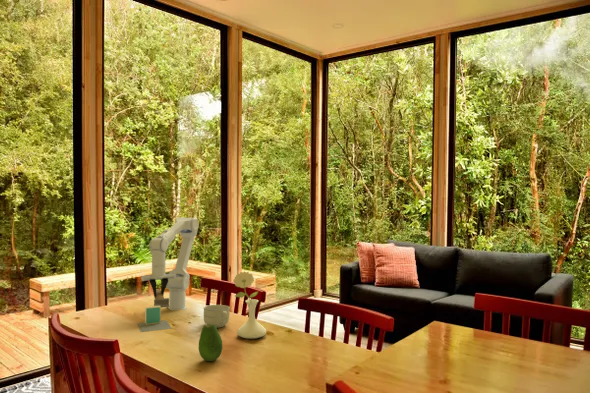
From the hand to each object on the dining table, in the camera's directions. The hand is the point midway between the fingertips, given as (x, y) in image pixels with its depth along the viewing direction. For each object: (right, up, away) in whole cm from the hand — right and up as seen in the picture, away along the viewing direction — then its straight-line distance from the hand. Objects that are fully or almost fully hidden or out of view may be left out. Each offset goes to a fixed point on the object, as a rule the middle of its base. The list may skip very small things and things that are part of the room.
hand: (158, 296), depth 203 cm
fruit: (+32, -10, -51) cm, 62 cm away
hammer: (+1, -2, -1) cm, 3 cm away
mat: (+3, -10, -15) cm, 18 cm away
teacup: (+29, -10, -14) cm, 33 cm away
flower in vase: (+43, -10, -26) cm, 51 cm away
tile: (+1, -9, -11) cm, 14 cm away
